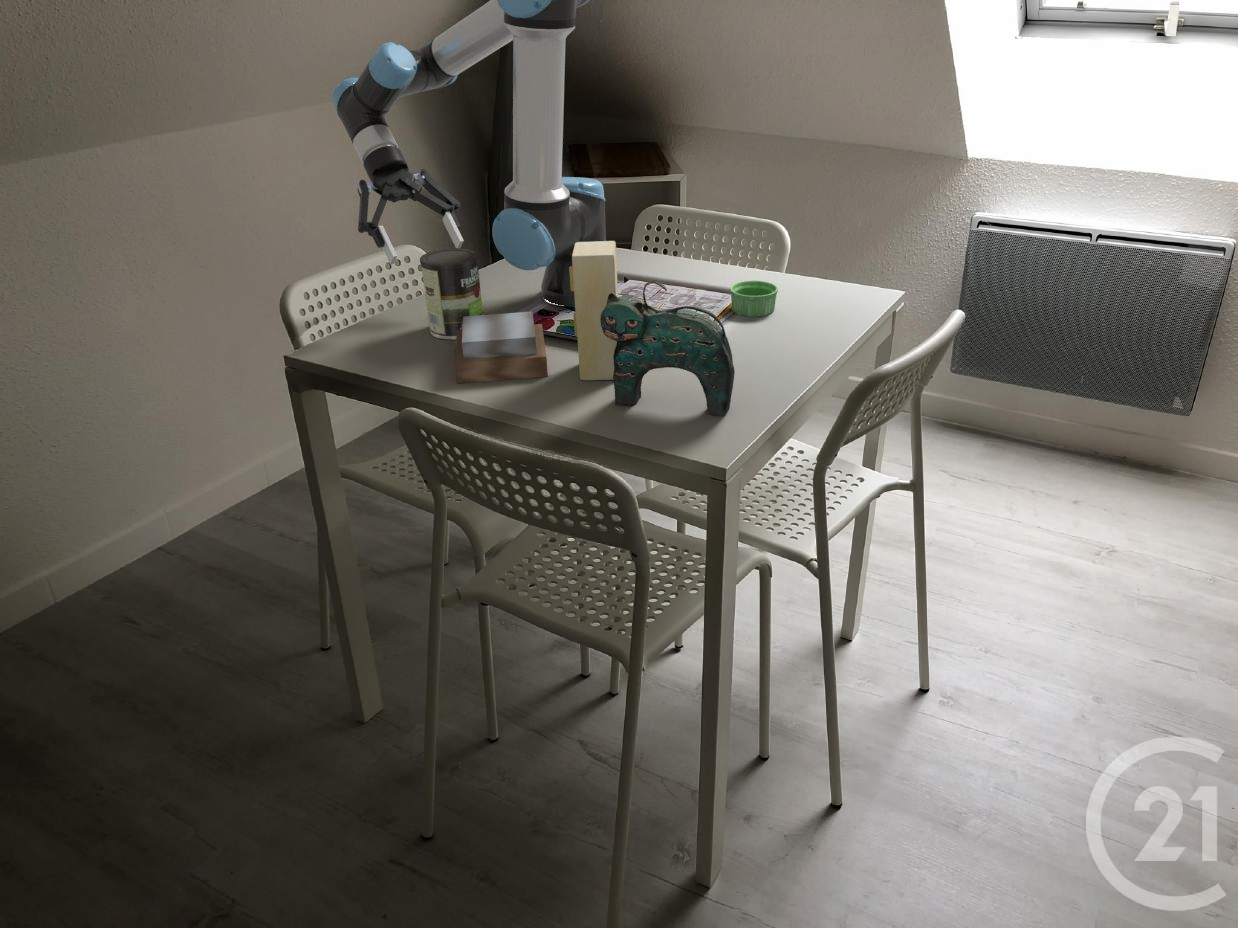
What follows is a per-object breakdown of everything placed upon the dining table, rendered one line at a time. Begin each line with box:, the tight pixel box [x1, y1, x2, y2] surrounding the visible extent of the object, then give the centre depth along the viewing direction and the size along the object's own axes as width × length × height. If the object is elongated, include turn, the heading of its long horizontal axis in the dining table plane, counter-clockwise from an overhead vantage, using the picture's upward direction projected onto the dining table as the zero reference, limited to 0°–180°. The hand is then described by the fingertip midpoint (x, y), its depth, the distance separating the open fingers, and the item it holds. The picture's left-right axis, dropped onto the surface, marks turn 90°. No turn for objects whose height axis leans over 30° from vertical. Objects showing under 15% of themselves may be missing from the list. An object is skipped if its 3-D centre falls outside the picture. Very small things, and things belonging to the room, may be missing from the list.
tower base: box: [454, 311, 549, 384], centre depth 165 cm, size 15×15×6 cm
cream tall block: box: [569, 240, 619, 381], centre depth 157 cm, size 8×7×21 cm
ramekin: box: [729, 280, 779, 318], centre depth 184 cm, size 9×9×4 cm
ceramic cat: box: [600, 280, 736, 417], centre depth 145 cm, size 20×6×20 cm, turn 71°
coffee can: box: [419, 247, 484, 341], centre depth 178 cm, size 10×10×14 cm
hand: (427, 252), depth 180 cm, fingers open, 13 cm apart
